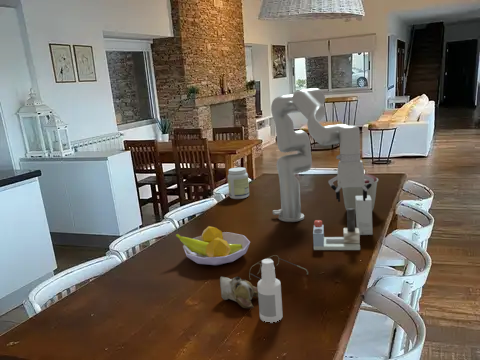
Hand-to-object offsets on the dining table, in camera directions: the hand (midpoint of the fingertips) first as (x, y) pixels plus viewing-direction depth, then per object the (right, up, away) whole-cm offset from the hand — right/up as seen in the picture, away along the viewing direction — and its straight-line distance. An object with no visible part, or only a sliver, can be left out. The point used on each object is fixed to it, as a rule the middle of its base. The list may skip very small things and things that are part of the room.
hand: (351, 200), depth 170 cm
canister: (+16, -8, +45) cm, 48 cm away
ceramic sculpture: (-44, -31, -31) cm, 62 cm away
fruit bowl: (-54, -23, +4) cm, 59 cm away
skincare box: (+10, -15, +18) cm, 25 cm away
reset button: (-12, -11, +6) cm, 17 cm away
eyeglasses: (-31, -27, -17) cm, 44 cm away
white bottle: (-35, -33, -42) cm, 64 cm away
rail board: (-5, -18, +6) cm, 20 cm away
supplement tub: (-44, -2, +89) cm, 99 cm away
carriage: (+1, -17, +4) cm, 17 cm away
